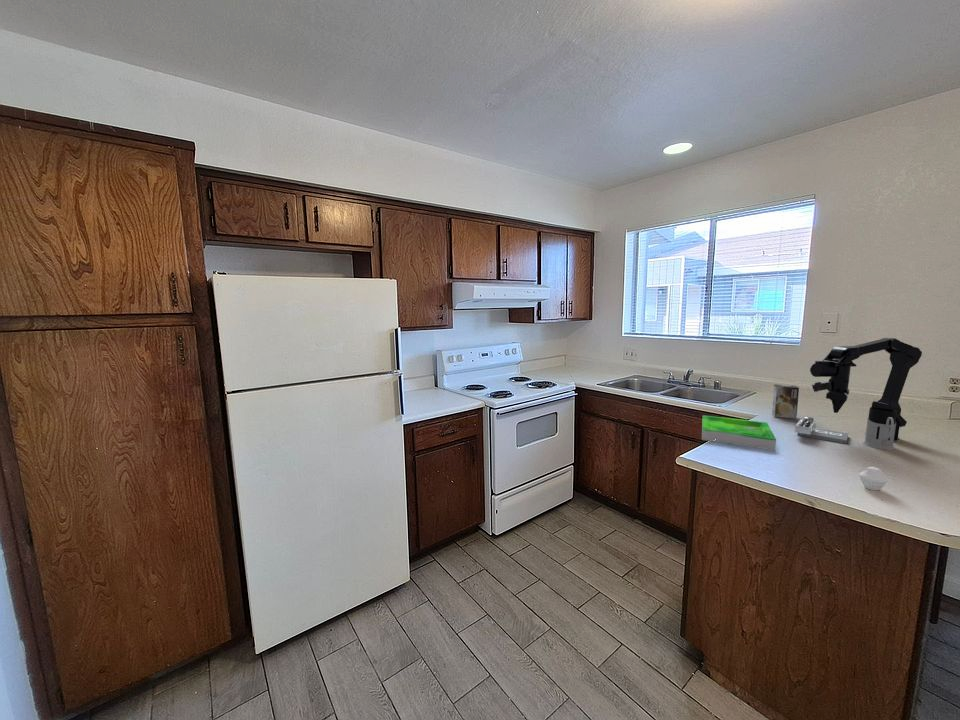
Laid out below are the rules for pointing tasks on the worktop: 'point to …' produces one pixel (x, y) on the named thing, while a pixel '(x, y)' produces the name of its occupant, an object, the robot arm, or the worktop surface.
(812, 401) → the worktop surface
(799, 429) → the swing arm
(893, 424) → the grey rounded piece
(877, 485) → the white faceted lump
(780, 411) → the coffee box
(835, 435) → the label board
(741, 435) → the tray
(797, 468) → the worktop surface
